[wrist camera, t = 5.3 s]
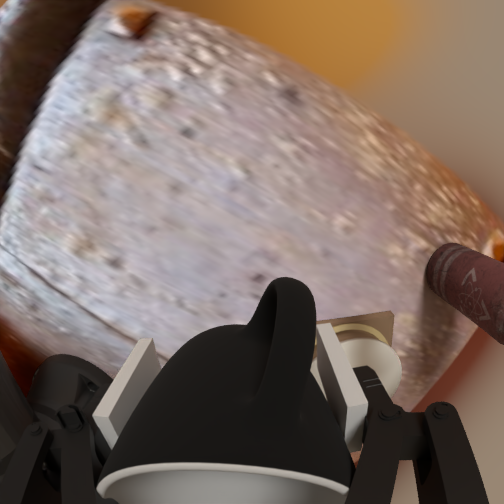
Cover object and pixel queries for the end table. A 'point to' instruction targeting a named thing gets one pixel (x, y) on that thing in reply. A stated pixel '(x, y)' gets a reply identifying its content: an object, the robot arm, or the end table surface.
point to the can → (470, 285)
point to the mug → (236, 418)
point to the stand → (367, 346)
